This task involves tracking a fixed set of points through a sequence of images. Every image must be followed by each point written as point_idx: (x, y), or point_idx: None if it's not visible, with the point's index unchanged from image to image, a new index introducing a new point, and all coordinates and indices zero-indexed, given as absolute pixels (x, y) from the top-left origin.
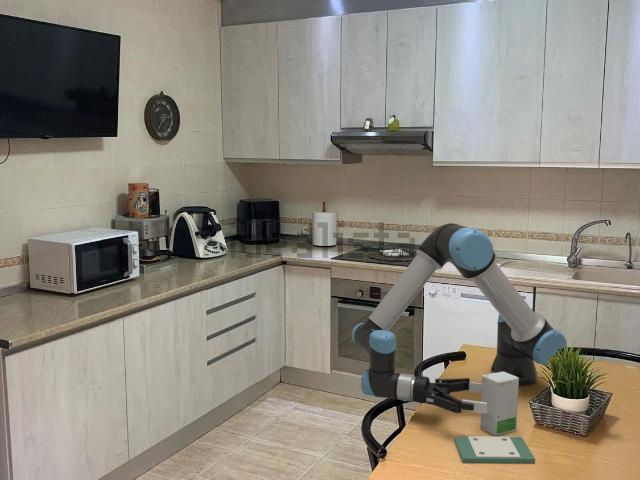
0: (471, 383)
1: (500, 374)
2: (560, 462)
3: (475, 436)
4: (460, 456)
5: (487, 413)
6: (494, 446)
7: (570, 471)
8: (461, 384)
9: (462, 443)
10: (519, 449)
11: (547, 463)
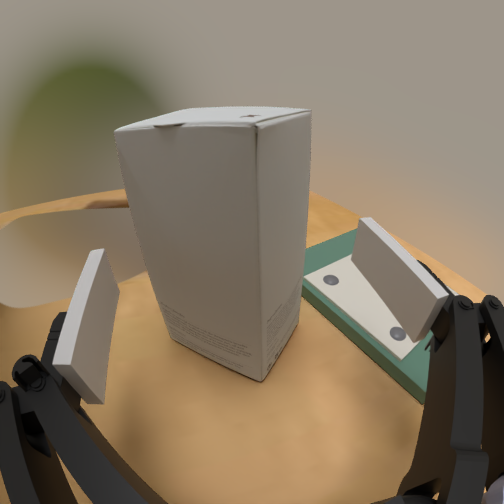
0: (76, 351)
1: (182, 114)
2: (315, 216)
3: (381, 342)
4: None
5: (287, 298)
6: None
7: (332, 207)
8: (92, 435)
9: None
10: (346, 251)
11: (336, 226)
